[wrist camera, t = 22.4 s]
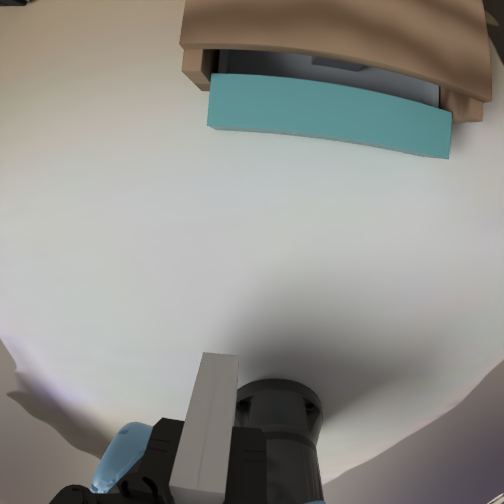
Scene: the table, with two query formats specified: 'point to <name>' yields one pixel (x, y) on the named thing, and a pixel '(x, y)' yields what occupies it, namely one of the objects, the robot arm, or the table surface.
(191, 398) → the robot arm
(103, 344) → the table surface
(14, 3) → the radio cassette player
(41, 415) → the table surface
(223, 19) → the wooden drawer cabinet
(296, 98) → the drawer
